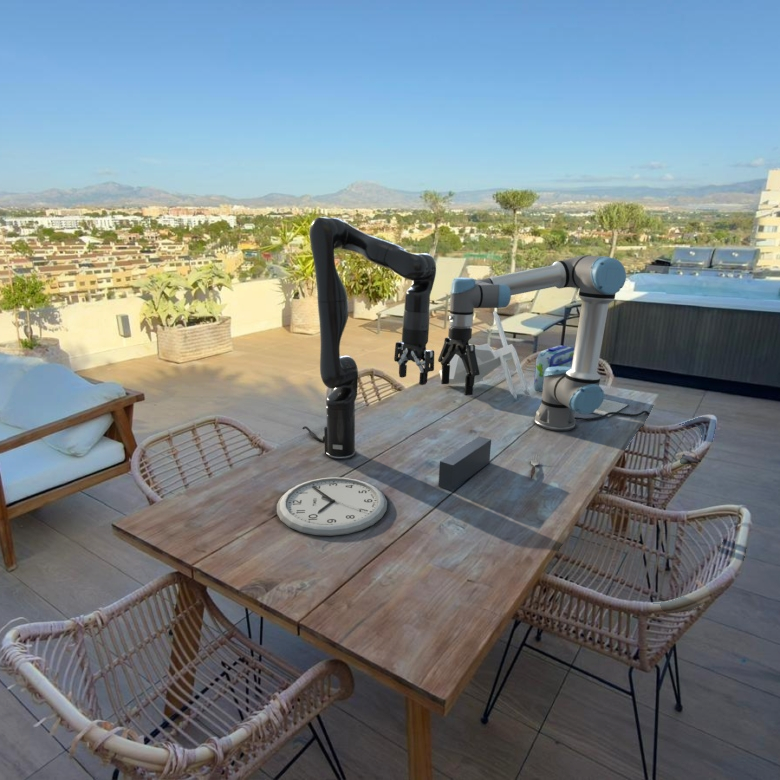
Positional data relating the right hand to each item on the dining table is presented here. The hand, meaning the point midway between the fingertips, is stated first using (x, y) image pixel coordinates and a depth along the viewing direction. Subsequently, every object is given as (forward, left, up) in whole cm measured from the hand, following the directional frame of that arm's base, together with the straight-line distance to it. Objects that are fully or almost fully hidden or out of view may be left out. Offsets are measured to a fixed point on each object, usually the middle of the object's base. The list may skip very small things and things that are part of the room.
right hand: (456, 389), depth 176 cm
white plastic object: (-12, -66, -21) cm, 70 cm away
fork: (-25, +14, -21) cm, 36 cm away
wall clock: (+33, +45, -21) cm, 60 cm away
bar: (-4, +20, -21) cm, 29 cm away
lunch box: (-47, -75, -21) cm, 91 cm away
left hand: (+13, +22, +9) cm, 27 cm away
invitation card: (-64, -54, -21) cm, 86 cm away
